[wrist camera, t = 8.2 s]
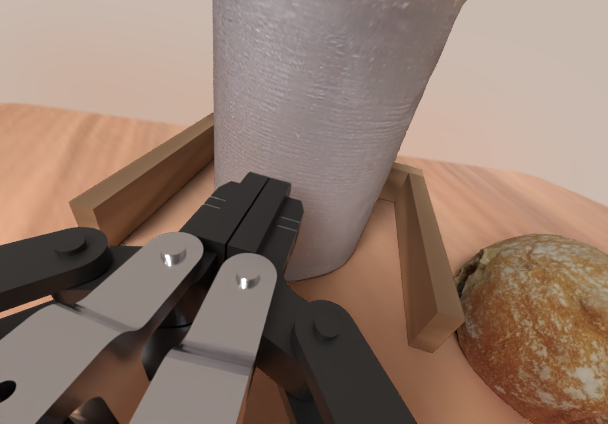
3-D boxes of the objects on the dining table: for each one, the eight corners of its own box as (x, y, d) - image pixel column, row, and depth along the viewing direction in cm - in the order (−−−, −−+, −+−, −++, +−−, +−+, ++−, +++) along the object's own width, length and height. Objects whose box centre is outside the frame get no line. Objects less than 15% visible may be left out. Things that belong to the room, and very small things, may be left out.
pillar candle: (254, 172, 23) (275, -78, 14) (365, 209, 22) (467, -37, 13) (181, 248, 16) (124, -182, 7) (344, 310, 15) (551, -107, 5)
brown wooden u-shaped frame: (406, 198, 25) (421, 169, 23) (432, 353, 14) (465, 320, 12) (213, 144, 26) (212, 112, 24) (87, 247, 14) (68, 202, 13)
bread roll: (442, 291, 22) (444, 203, 18) (623, 313, 18) (674, 203, 14) (443, 430, 14) (448, 328, 11) (763, 531, 10) (960, 416, 6)
